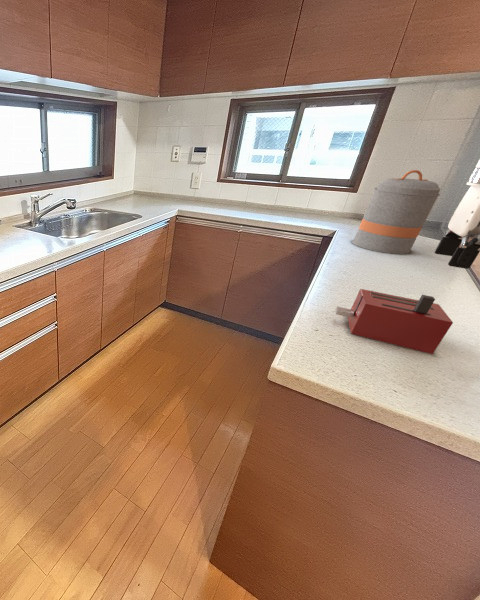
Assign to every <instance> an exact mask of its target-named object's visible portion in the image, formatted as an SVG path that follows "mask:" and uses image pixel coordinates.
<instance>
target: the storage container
mask: <svg viewBox="0 0 480 600" xmlns="http://www.w3.org/2000/svg"><path fill="white" fill-rule="evenodd" d="M413 173H415V174H417V176H418V179H416V178H407V177H408V176H409V175H410V174H413ZM440 191H441V188H440V187H439V184H438V183H437V182H436V181H431V180H429V179H426V178H423V174H422V172H421V171H420V170H418V169H413V170H409V171H407V172H405V174H404V175H402V177H391V178H386V179H384V180H382V181H380V182H378V184H377V186H376V187H374V188H373V194H372V195H371V198H370V200H369V203H368V205H367V206H366V207H367V208H366V210H365V212H364V214H363V218H362V219H361V222H360V224H359V226H358V229H357V231H356V233H355V236H354V238H353V239H352V244H353V245H354V246H357V247H359V248H363V249H365V250H369V251H375V252H379V253H384V254H385V253H386V254H394V255H406V254H407V255H408V254H409V253H411V251H412V248H413V246H414V245H415V242H416V240H417V238H418V236H419V235H420V232H421V230H422V229H423V226H424V225H425V223H426V221H427V219H428V217H429V215H430V213H431V211H432V209H433V207H434V205H435V203H436V201H437V199H438V197H440V196H441V194H440Z"/></svg>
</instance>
